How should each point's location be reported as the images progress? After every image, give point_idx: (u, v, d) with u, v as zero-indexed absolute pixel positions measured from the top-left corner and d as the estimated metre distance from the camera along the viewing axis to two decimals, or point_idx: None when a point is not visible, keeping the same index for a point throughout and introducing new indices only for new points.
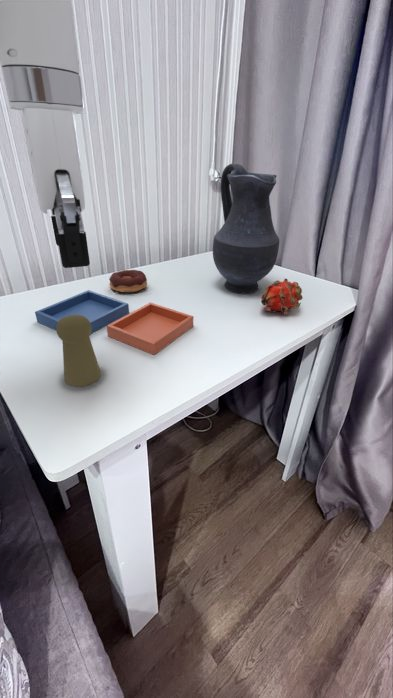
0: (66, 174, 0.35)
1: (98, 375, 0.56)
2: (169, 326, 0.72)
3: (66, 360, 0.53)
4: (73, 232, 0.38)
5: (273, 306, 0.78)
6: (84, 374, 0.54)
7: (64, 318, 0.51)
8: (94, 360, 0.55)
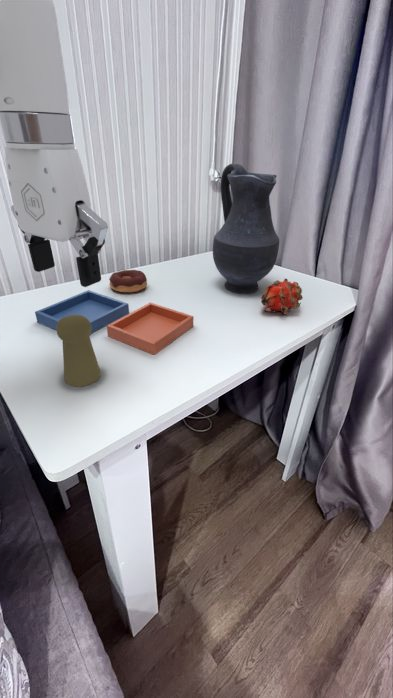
0: (83, 204, 0.40)
1: (98, 375, 0.56)
2: (169, 326, 0.72)
3: (66, 360, 0.53)
4: (94, 253, 0.42)
5: (273, 306, 0.78)
6: (84, 374, 0.54)
7: (64, 318, 0.51)
8: (94, 360, 0.55)
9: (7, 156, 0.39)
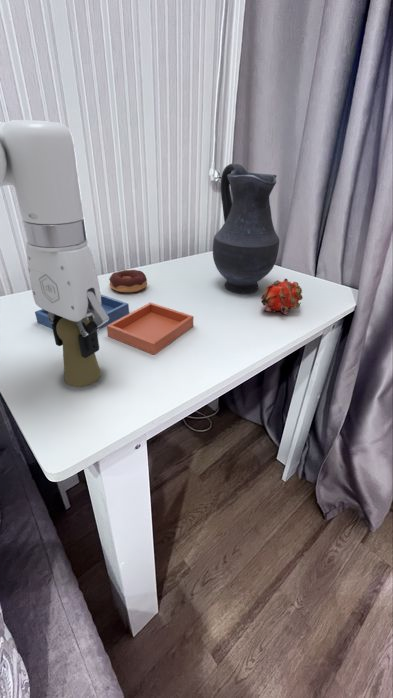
0: (93, 294, 0.46)
1: (98, 375, 0.56)
2: (169, 326, 0.72)
3: (66, 360, 0.53)
4: (93, 332, 0.50)
5: (273, 306, 0.78)
6: (84, 374, 0.54)
7: (64, 318, 0.51)
8: (94, 360, 0.55)
9: (28, 250, 0.45)
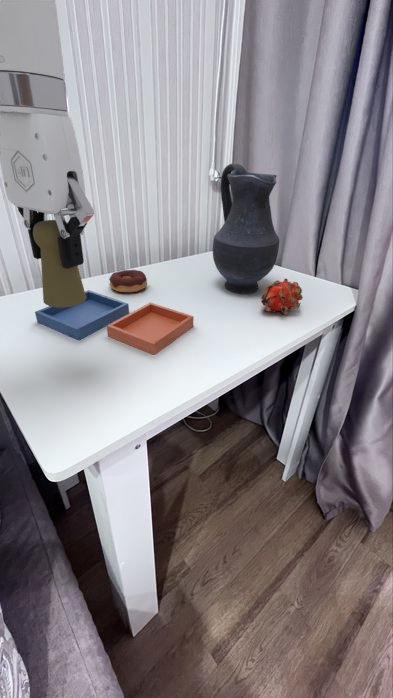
0: (75, 181, 0.39)
1: (83, 297, 0.49)
2: (169, 326, 0.72)
3: (44, 274, 0.45)
4: (76, 234, 0.42)
5: (273, 306, 0.78)
6: (66, 292, 0.46)
7: (42, 221, 0.44)
8: (78, 278, 0.47)
9: None
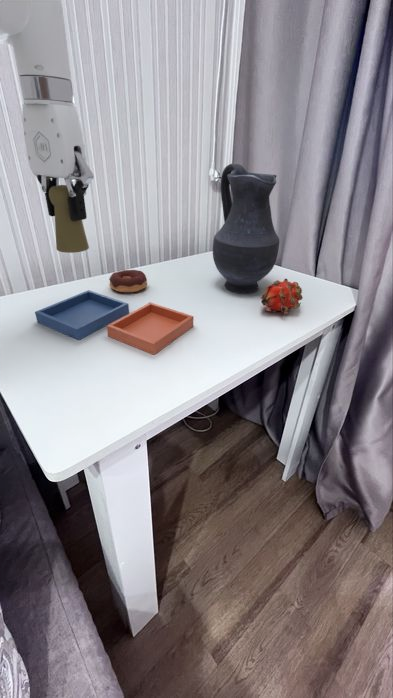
0: (80, 153, 0.54)
1: (86, 246, 0.64)
2: (169, 326, 0.72)
3: (57, 226, 0.60)
4: (81, 194, 0.57)
5: (273, 306, 0.78)
6: (74, 240, 0.61)
7: None
8: (82, 230, 0.62)
9: (24, 111, 0.53)
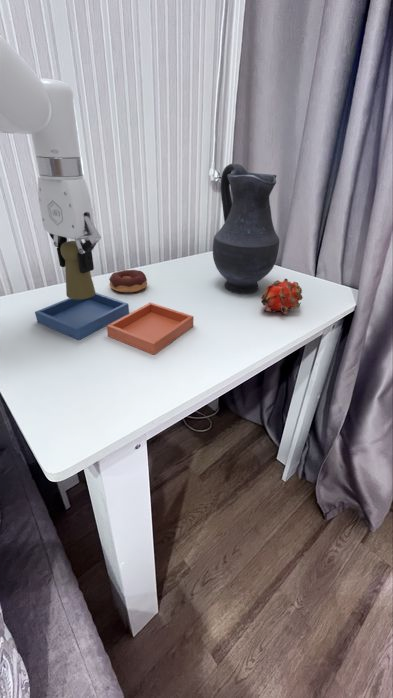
0: (88, 218, 0.61)
1: (93, 292, 0.71)
2: (169, 326, 0.72)
3: (67, 277, 0.67)
4: (89, 251, 0.64)
5: (273, 306, 0.78)
6: (82, 288, 0.68)
7: (66, 242, 0.66)
8: (90, 279, 0.69)
9: (39, 182, 0.60)
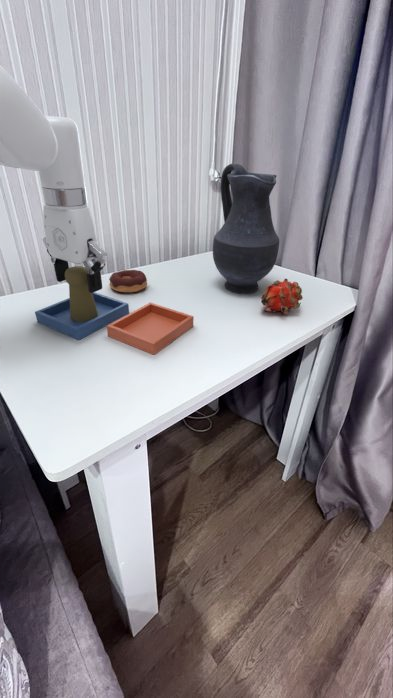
0: (92, 240, 0.63)
1: (96, 315, 0.74)
2: (169, 326, 0.72)
3: (71, 301, 0.70)
4: (98, 271, 0.66)
5: (273, 306, 0.78)
6: (85, 311, 0.71)
7: (70, 268, 0.69)
8: (93, 302, 0.72)
9: (44, 210, 0.62)
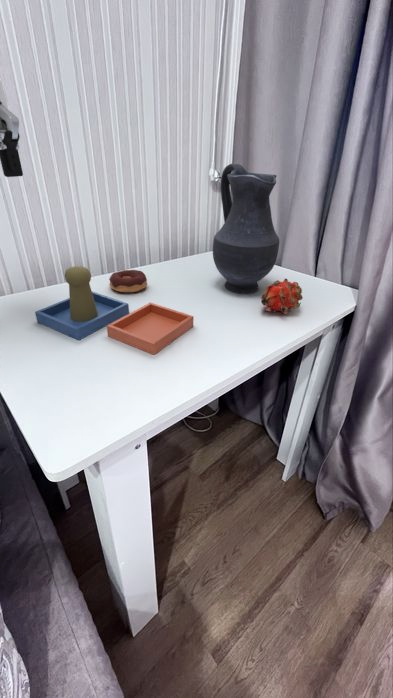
0: (1, 104, 0.52)
1: (96, 315, 0.74)
2: (169, 326, 0.72)
3: (71, 301, 0.70)
4: (12, 147, 0.54)
5: (273, 306, 0.78)
6: (85, 311, 0.71)
7: (70, 268, 0.69)
8: (93, 302, 0.72)
9: None
